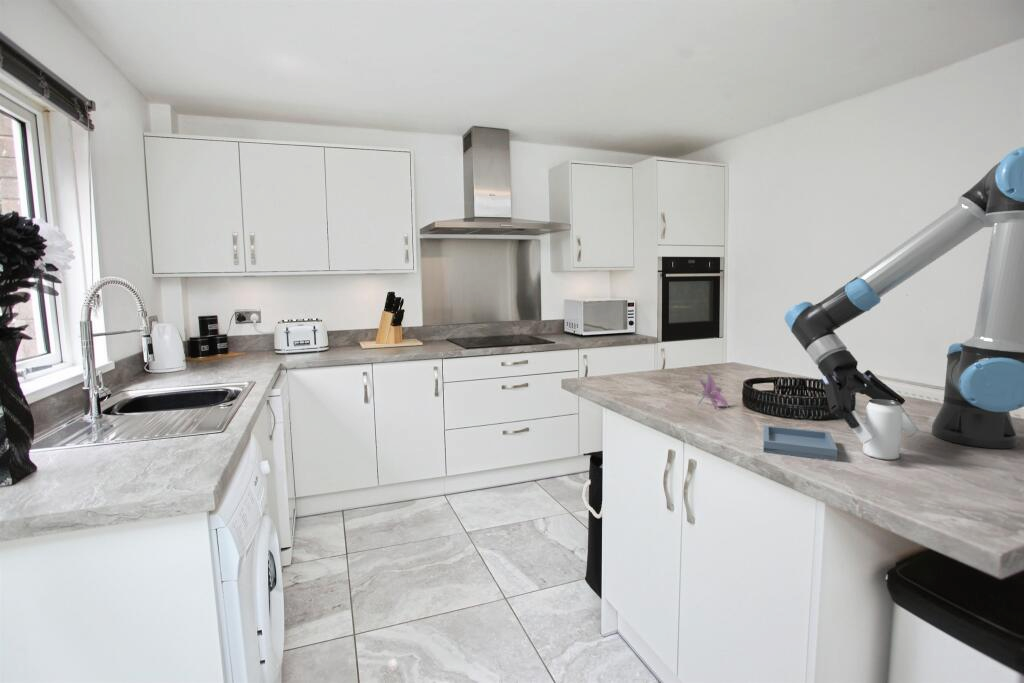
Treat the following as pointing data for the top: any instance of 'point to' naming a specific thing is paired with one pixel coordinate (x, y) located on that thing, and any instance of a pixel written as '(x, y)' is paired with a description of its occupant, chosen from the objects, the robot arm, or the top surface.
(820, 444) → the tray
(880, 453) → the can
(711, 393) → the lily
